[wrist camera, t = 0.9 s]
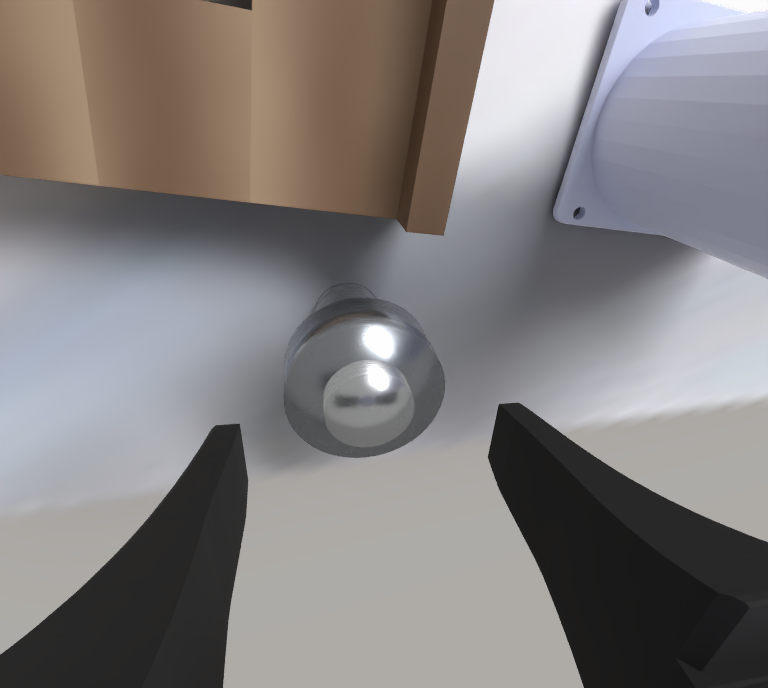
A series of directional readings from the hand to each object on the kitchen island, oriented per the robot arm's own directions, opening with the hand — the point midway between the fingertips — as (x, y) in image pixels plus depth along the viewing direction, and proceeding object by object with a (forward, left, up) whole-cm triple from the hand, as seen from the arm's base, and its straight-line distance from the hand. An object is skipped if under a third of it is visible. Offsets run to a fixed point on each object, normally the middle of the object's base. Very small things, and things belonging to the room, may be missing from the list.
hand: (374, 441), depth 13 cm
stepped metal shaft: (0, 0, -8) cm, 8 cm away
